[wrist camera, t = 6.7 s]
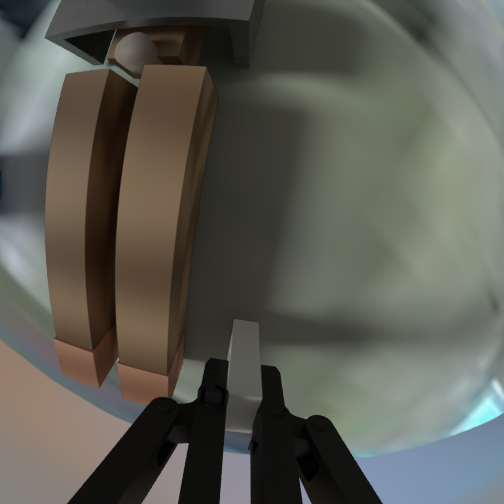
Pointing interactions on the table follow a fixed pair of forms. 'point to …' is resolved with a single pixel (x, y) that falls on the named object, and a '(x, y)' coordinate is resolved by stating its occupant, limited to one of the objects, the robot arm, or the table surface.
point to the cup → (0, 185)
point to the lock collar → (150, 22)
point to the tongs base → (96, 193)
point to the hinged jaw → (159, 224)
